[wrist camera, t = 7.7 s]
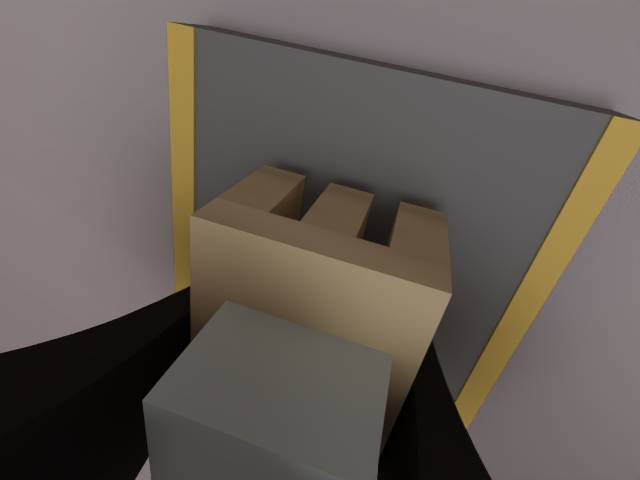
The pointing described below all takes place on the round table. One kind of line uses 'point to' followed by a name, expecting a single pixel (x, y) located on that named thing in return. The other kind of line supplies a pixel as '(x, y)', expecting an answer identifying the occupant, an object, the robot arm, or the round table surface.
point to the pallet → (324, 268)
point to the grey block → (267, 404)
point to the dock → (403, 170)
